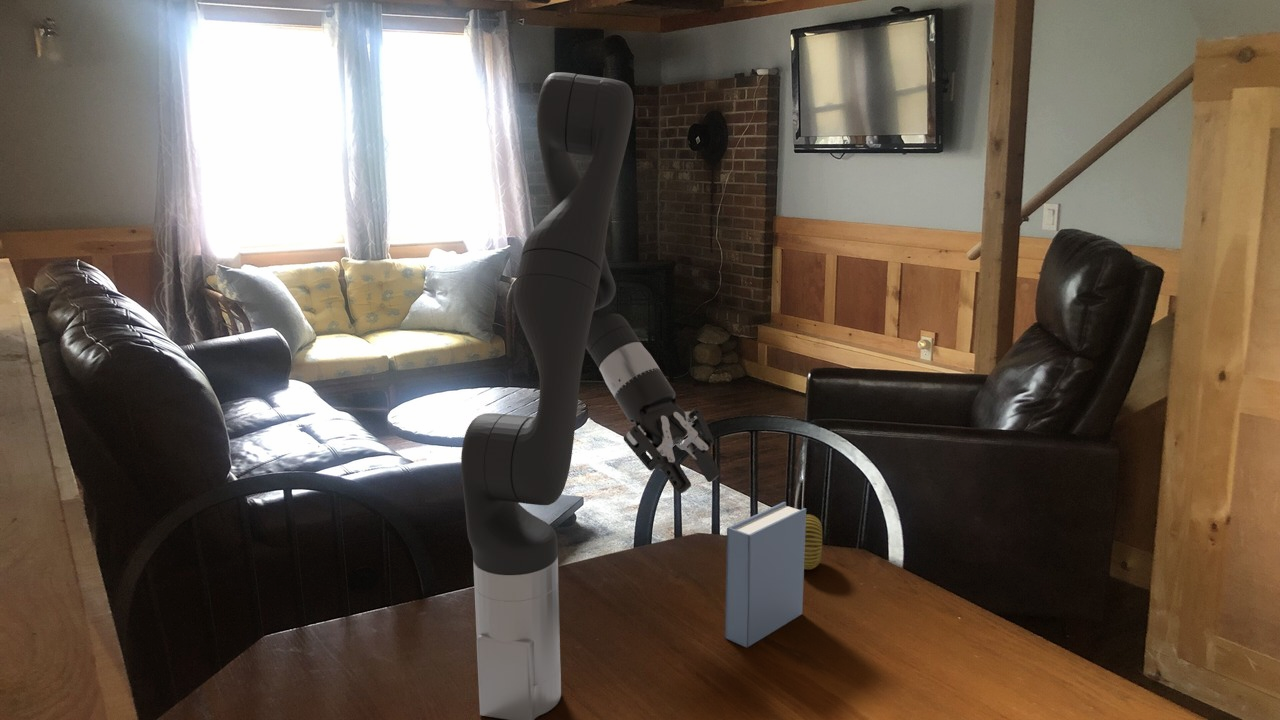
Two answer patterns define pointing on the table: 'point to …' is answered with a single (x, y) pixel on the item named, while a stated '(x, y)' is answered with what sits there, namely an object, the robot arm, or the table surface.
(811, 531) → the sculpture
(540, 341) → the robot arm
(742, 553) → the book
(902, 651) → the table surface
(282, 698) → the table surface
